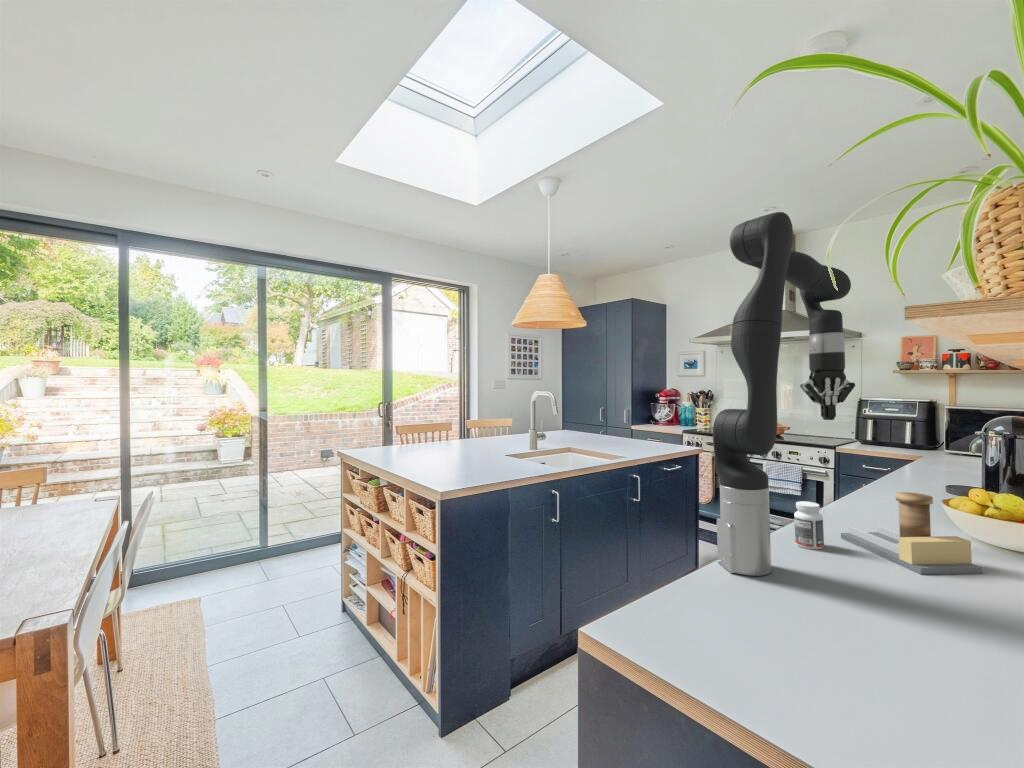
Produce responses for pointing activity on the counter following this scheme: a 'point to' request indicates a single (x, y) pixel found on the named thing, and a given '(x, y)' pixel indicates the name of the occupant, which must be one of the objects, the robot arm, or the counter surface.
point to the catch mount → (918, 551)
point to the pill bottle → (808, 525)
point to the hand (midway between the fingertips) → (828, 419)
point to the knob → (914, 514)
